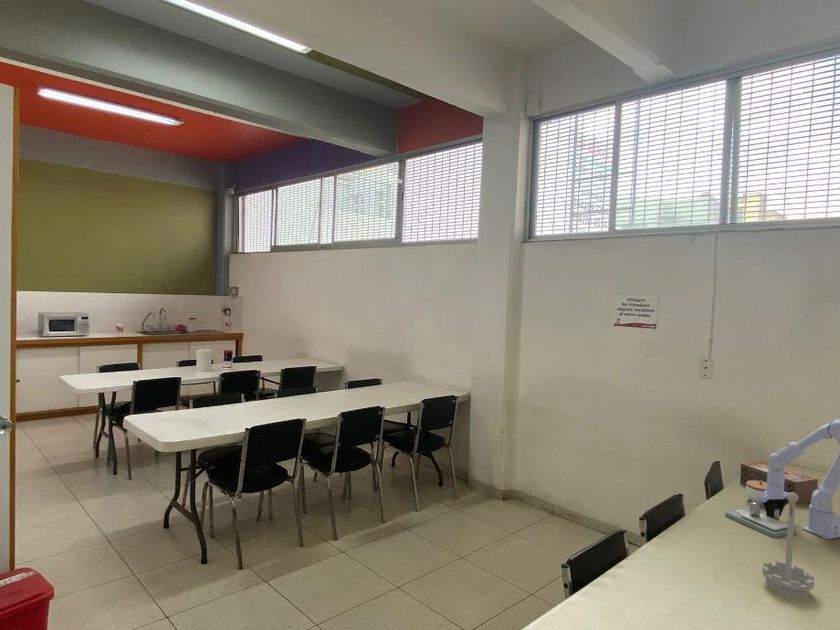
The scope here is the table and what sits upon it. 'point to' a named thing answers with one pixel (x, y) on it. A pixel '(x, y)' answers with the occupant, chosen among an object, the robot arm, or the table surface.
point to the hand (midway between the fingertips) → (773, 516)
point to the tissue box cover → (792, 483)
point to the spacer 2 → (776, 514)
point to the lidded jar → (756, 490)
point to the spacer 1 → (754, 509)
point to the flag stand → (788, 566)
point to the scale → (759, 522)
